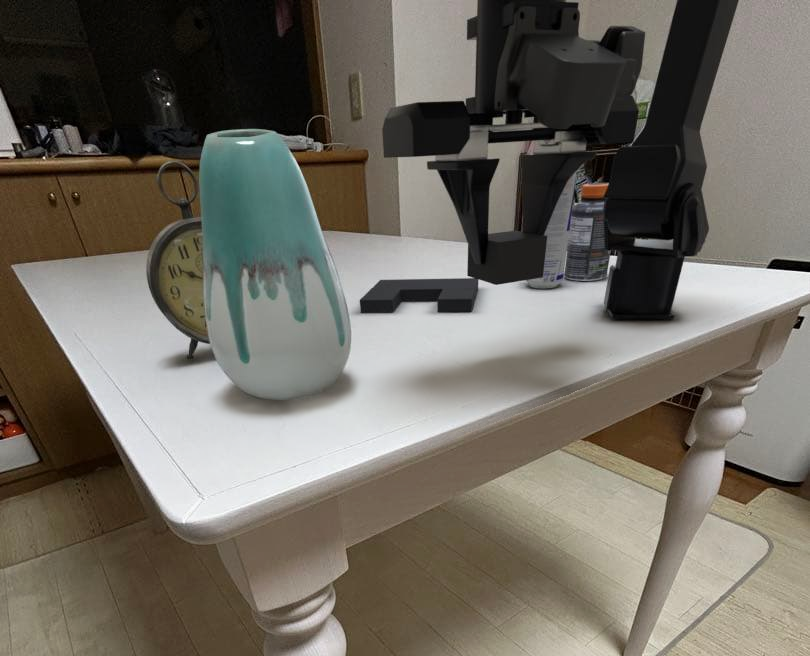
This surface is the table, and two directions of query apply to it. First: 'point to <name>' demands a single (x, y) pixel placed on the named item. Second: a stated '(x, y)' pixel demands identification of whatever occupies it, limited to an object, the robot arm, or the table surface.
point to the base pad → (421, 294)
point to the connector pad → (510, 258)
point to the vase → (268, 270)
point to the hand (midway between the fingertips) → (505, 260)
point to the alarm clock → (179, 270)
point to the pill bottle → (588, 236)
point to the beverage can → (557, 239)
